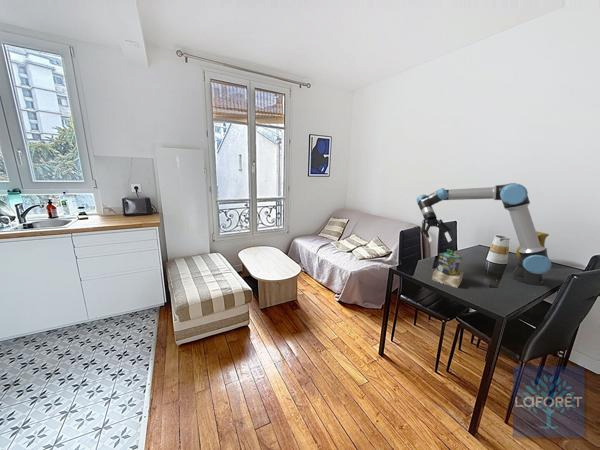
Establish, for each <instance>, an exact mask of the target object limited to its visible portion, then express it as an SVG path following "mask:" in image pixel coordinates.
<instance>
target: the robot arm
mask: <svg viewBox="0 0 600 450" xmlns="http://www.w3.org/2000/svg"><path fill="white" fill-rule="evenodd" d="M528 195H529V194H528V189H527V188H526V187H525V186H524V185H523V184H520V183H517V182H513V183H512V182H510V183H506V184H505V183H504V184H500V185H499V184H497V185H494V186H491V187H490V186H489V187H471V188H455V189H454V188H453V189H445V188H443V187H442V188H440V189H437V190H436V191H434V192H431V193H430V194H428V195H426V194H422V195H419V196H418V197H416V202H417V203H416V204H417V205H418V207H419V209H420V212H421V214H422V217H423V220H422V221H421V232H420V233H422V234H423V235H425V236H426V238H427V241H428V242H429V243H430V244H431V243H432V242H433V241H434V239H433V237H432V235H431V233H430V231H429V230H430V227H431V228H433V227H434V228H437V229H439V230H440V231H442V232H443V233H444V236H445V238H446V241H447V243H451V241H452V240H453V239H452V238H451V237H452V236H451V234H450V232H451V231H452V229H451V228H450V227H449V226H447V224H446V223H444V221H443V219H437V218H438V217H437V215H436V212H435V210H434V207H433V206H434V205H435V204H438V203H440V202H442V201H455V200H456V201H458V200H459V201H460V200H490V199H491V200H492V199H493V200H495V201H501V202H502V204H503V208H504V209H505V210H506V211H508V212H509V216H510V218H511V221H512V224H513V228H514V230H515V234H516V237H517V240H518V243H519V246H521V249H520V250H519V253H520V256H519V258H518V260H519V261H518V260H517V265H516V266H515V269H514V270H513V271H512V272H511V278H512V279H513V280H516V281H518V282H520V283H524V284H527V285H534V286H540V285H543V283H544V276H543V274H545V273H547V272H549V271H550V269H551V268H552V261H551V260H550V257H549V256H548V248H547V247H542V246H541V245H540V242H539V239H538V236H537V233H536V231H537V230H536V227H535V225H534V222H533V219H532V216H531V212H530V209H529V205H530V204H531V201H530V199H529V198H530V197H529V196H528Z"/></svg>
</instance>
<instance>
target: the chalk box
mask: <svg viewBox="0 0 600 450" xmlns="http://www.w3.org/2000/svg"><path fill="white" fill-rule="evenodd" d="M462 261H463V256H461V255H459V254H456V253H454V251H453V250H451V249H449V248H447V249H446V252H440V253H438V258H437V267H436V269H437V270H439V271H441V272H442V273H444V274H446V275H455V274H460V272H461V270H462Z"/></svg>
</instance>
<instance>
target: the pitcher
mask: <svg viewBox="0 0 600 450" xmlns="http://www.w3.org/2000/svg"><path fill="white" fill-rule="evenodd" d="M536 233H537V236H538V239H539V242H540V245H541V246H542V247H545V246H546V245H545V241H546V238H547V237H548V236H550V234H549V233H546V232H542V231H537V230H536ZM545 248H546V247H545ZM520 249H521V246H520V245H519V246H518V247H517V249H516V252H515V256H516V258H517V259H519V256H520V253H519V250H520Z"/></svg>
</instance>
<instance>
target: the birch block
mask: <svg viewBox="0 0 600 450" xmlns="http://www.w3.org/2000/svg"><path fill="white" fill-rule="evenodd" d="M463 277H464V271H460V274H455V275H446V274H444V273H442V272H441V271H439V270H437V268H435V270H434V271H433V272H432V277H431V281H432V280H433V281H432V282H436V281H437V282H436V283H439V282H440V284H443V283H444V285H447V286H450V287H453V288H458V287H459V286H460V284H461V283H462V282H463Z"/></svg>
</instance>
